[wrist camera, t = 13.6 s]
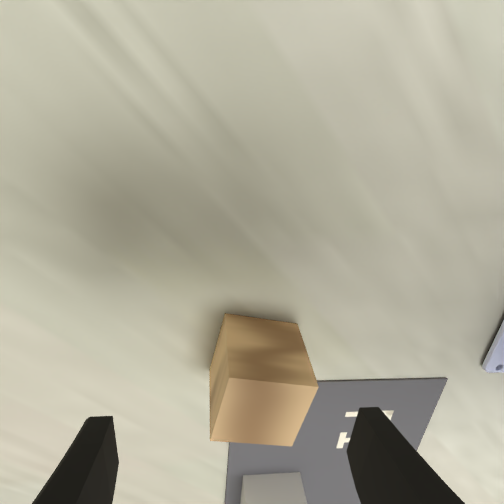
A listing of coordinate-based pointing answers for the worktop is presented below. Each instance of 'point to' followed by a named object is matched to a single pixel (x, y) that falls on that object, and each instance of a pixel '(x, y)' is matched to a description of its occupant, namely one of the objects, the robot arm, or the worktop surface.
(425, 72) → the worktop surface
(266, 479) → the grey block
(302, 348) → the oak block
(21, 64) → the worktop surface
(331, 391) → the mat
